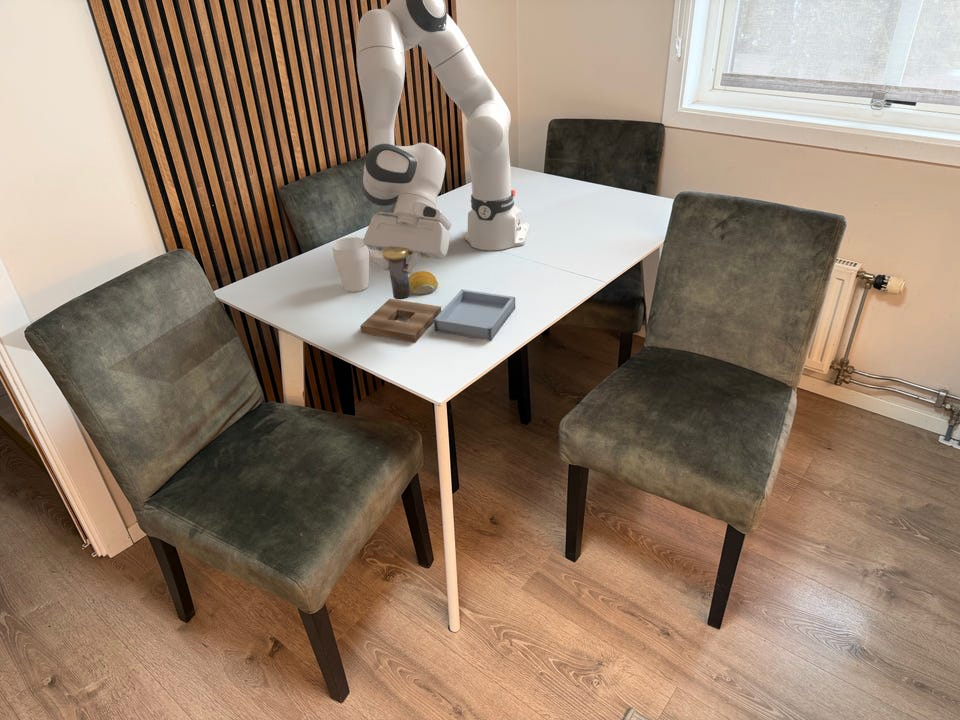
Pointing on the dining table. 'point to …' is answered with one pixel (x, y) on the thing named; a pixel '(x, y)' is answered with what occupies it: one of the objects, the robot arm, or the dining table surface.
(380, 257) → the character figurine
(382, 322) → the socket block
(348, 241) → the cup
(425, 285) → the bread roll
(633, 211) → the dining table surface
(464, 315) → the tray
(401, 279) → the pin
